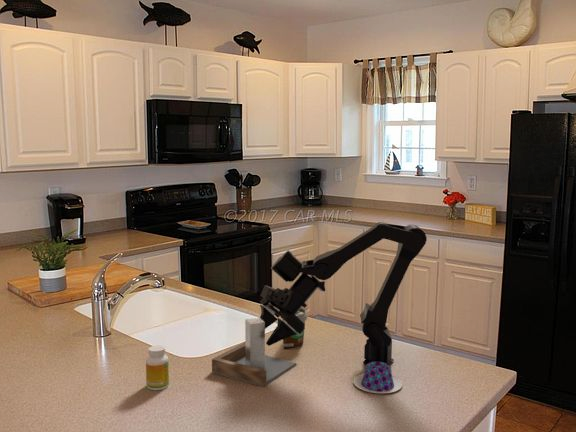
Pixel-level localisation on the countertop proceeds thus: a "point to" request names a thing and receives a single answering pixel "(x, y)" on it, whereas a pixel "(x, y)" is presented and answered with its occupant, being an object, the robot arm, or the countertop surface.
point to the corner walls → (237, 366)
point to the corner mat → (266, 369)
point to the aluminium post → (255, 343)
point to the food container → (297, 339)
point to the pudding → (377, 379)
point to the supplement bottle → (157, 368)
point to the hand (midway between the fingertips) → (260, 338)
